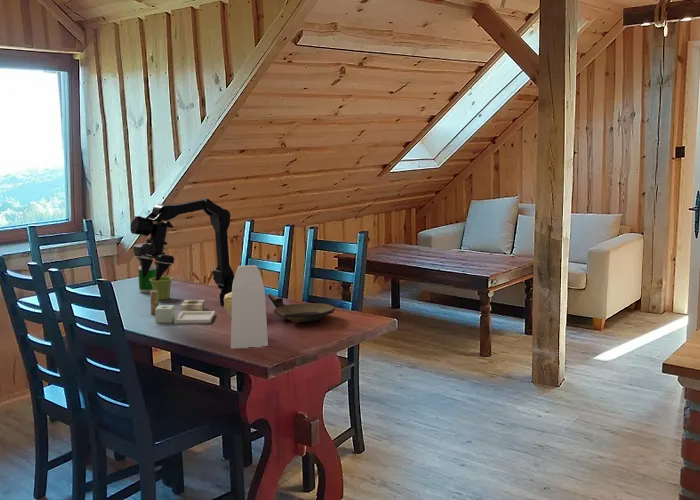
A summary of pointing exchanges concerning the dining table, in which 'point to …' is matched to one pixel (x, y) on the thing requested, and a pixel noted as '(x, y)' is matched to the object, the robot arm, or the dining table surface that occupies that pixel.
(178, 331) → the dining table surface
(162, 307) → the narrow bore block
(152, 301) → the dowel pin
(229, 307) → the sculpture
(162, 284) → the plant pot
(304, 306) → the oil lamp
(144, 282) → the soda can
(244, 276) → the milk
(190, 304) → the wide bore block
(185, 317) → the tray
